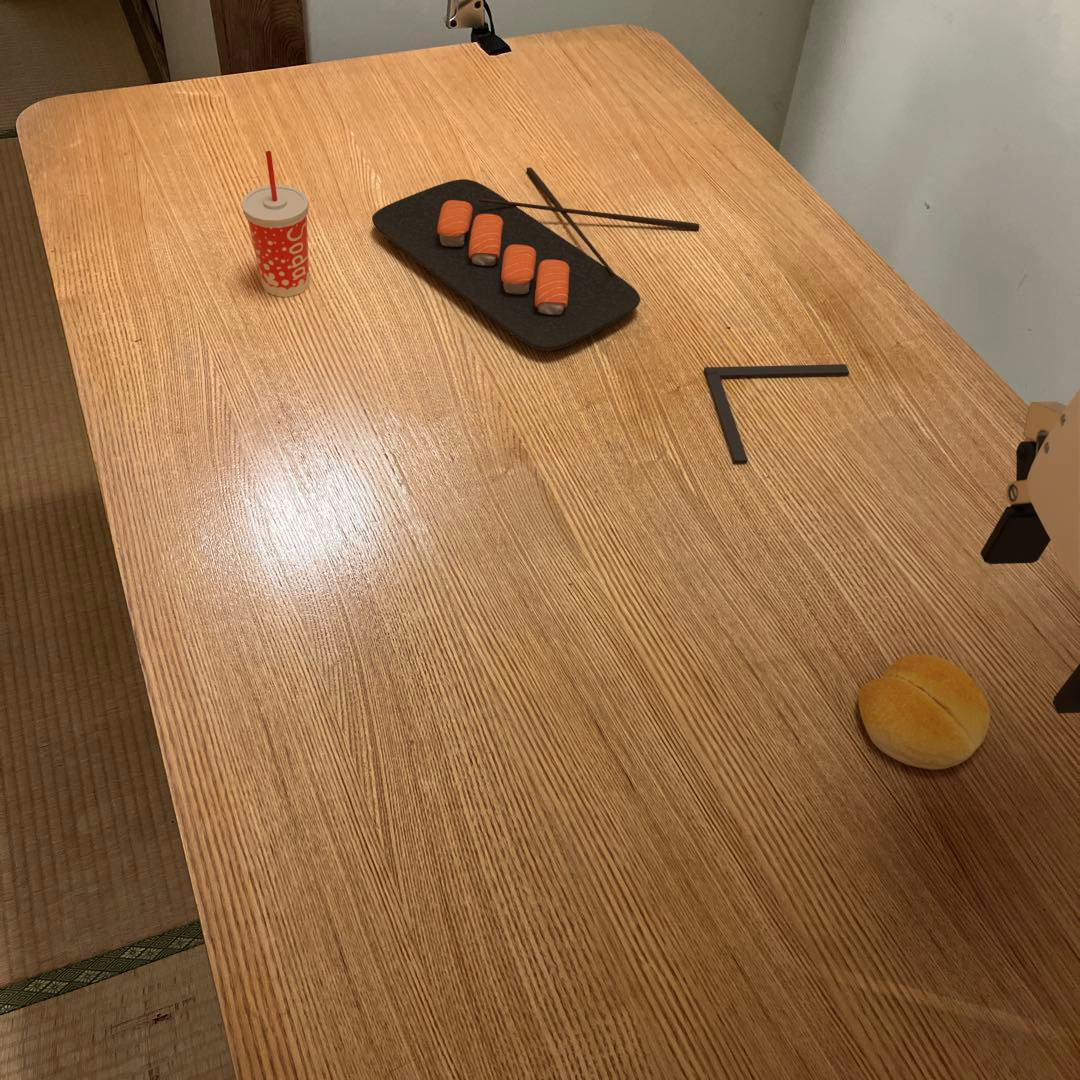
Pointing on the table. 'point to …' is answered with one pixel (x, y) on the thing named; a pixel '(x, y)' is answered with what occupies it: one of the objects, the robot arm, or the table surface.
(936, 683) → the bread roll
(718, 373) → the corner guide
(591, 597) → the table surface
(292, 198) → the beverage cup
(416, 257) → the sushi plate
